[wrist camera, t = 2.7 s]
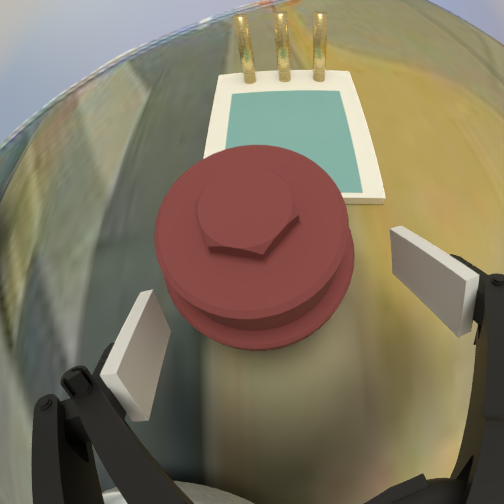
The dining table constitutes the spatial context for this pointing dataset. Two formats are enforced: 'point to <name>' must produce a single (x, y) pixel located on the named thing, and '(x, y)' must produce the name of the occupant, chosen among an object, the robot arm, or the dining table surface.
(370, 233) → the dining table surface
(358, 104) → the header board
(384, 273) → the dining table surface
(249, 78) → the pin
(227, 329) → the mechanical component
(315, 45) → the pin
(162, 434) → the dining table surface
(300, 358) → the dining table surface
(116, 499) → the cereal bowl
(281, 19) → the pin
